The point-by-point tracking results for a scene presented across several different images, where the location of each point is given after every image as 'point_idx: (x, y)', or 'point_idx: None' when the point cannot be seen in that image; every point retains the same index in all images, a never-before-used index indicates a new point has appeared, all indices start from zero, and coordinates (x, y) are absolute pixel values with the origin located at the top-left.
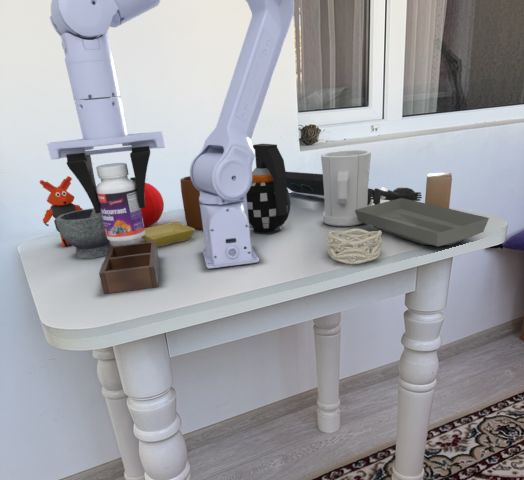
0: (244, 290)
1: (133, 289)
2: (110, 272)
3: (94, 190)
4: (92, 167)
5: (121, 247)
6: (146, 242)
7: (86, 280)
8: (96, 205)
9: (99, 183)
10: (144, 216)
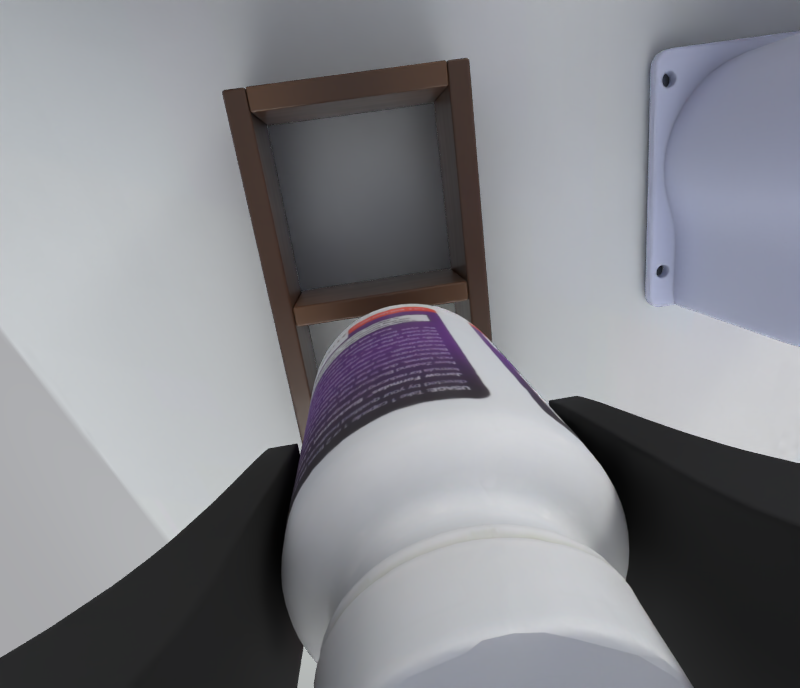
0: None
1: None
2: None
3: (289, 643)
4: (171, 647)
5: (293, 107)
6: (422, 74)
7: (196, 302)
8: None
9: (319, 627)
10: None
